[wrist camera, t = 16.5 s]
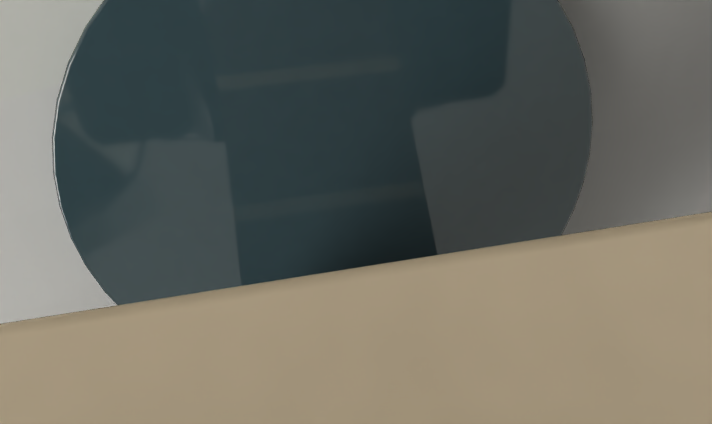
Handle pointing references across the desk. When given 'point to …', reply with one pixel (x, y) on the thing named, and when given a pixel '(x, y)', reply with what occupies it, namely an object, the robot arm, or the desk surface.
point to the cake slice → (398, 342)
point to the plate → (313, 136)
